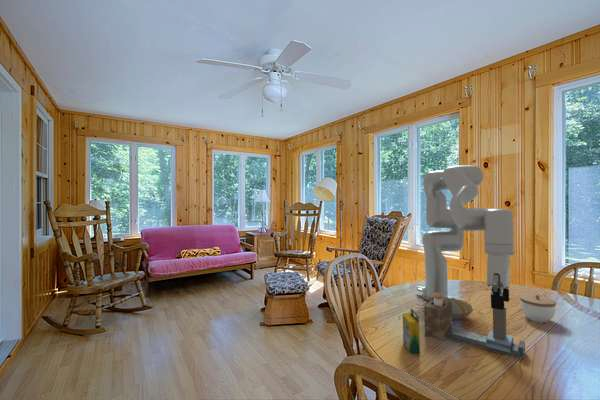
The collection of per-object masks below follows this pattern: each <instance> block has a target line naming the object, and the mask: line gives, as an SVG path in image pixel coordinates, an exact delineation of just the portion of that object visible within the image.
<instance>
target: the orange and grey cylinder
mask: <svg viewBox="0 0 600 400" xmlns="http://www.w3.org/2000/svg"><path fill="white" fill-rule="evenodd" d="M433 297H434V305H436V306H440V307H443V294H442V293H433Z"/></svg>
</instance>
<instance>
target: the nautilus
mask: <svg viewBox="0 0 600 400" xmlns="http://www.w3.org/2000/svg"><path fill="white" fill-rule="evenodd" d="M425 298H428V297H424V296H423V297H422V299H423V300H421V297H420V296H418V301H419V302H425V304H421V306H422V307H421V308H420V307H419V310H418V312H419V311H420V312H424V306H425V305H426V304H428V303H429V302H430V301H431V300H433V299H434V298H430V299H431V300H430V299H425ZM419 299H420V300H419ZM443 300H444V301H449V302H452V320H458V319H462V318H465V317H468V316H469V315H471V314H472V313H473V311H474V309H473V307H472V305H471V304H469V303H468V302H466V301H463V300H461V299H456V298H454V297H451V298H443ZM416 305H418V306H420V304H419V303H418V304H417V303H416ZM418 306H417V307H416V306H415V308H416V309H418ZM420 309H421V310H420Z"/></svg>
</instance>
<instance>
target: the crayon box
mask: <svg viewBox="0 0 600 400" xmlns="http://www.w3.org/2000/svg"><path fill="white" fill-rule="evenodd" d="M402 338H403V339H402V342H403V345H405V347H406V349H407V350H408V352H409V353H410V355H420V354H421V346H420V345H421V344H420V343H421V341H420V339H421V338H420V315H419V314H418V313H416V312H415V310H414V309H413V308H412V307H410V313H407V312H405V313H402Z"/></svg>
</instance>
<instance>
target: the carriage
mask: <svg viewBox="0 0 600 400" xmlns="http://www.w3.org/2000/svg"><path fill="white" fill-rule="evenodd" d="M512 343H514V335H509V334H507V308H506V307H504V310H498V309H493V308H492V330H490V331H489V333H488V335H487V338H486V346H488V347H491V348H495V349H498V350H502V351H505V352H509V353H510V349H511V346H512Z"/></svg>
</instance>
